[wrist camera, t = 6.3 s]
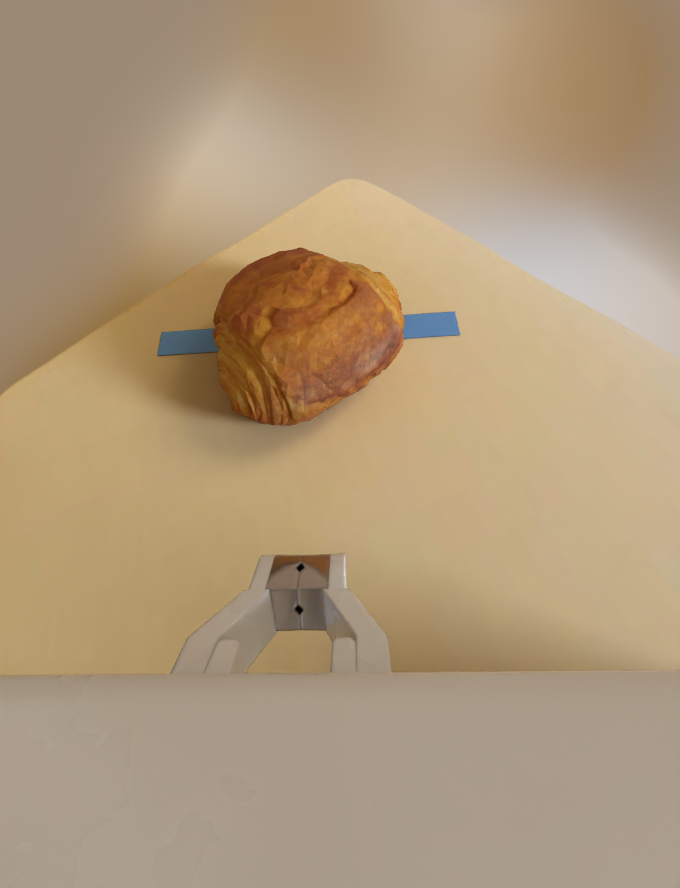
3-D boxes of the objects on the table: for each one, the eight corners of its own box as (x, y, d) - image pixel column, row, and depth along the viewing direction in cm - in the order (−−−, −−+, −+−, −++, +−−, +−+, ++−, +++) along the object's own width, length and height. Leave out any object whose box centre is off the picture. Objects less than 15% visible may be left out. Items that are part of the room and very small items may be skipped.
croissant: (422, 378, 30) (460, 306, 23) (264, 466, 25) (247, 411, 18) (332, 275, 34) (339, 188, 27) (182, 334, 29) (142, 246, 22)
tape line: (459, 334, 29) (459, 334, 29) (157, 355, 29) (157, 355, 29) (454, 311, 30) (454, 311, 30) (162, 332, 30) (161, 332, 30)
